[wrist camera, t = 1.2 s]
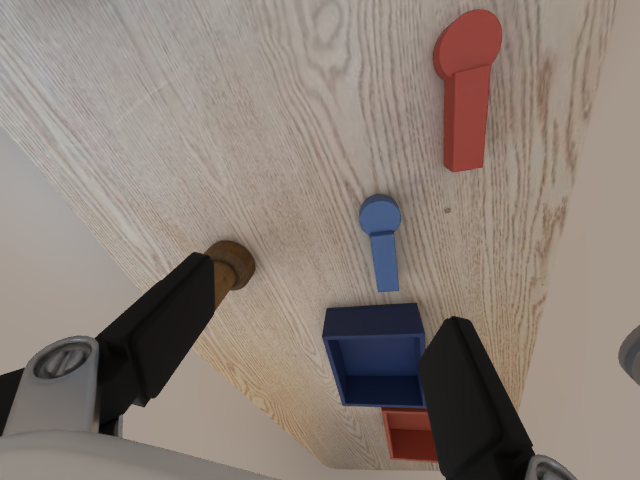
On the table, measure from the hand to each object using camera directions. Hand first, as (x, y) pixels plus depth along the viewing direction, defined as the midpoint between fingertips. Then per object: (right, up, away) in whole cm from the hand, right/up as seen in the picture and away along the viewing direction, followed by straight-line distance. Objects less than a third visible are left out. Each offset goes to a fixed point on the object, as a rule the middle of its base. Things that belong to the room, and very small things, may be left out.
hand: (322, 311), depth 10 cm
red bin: (+17, -26, +34) cm, 46 cm away
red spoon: (+12, +15, +12) cm, 22 cm away
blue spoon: (+7, +3, +19) cm, 21 cm away
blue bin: (+8, -13, +28) cm, 32 cm away
